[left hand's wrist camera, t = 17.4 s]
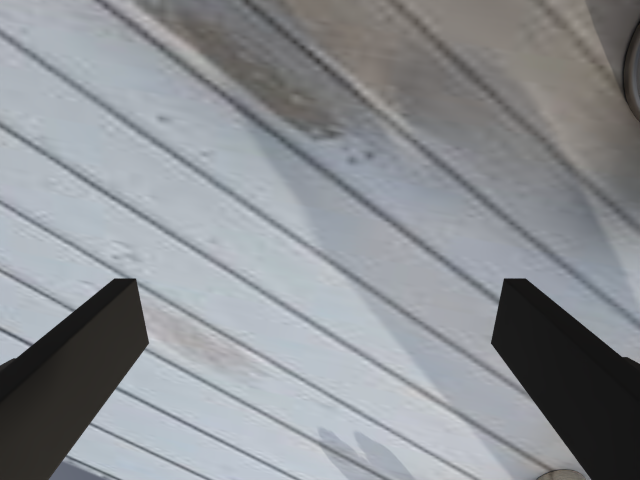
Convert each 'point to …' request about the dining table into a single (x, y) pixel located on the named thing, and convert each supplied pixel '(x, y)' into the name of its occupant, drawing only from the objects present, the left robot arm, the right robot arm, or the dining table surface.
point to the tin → (562, 475)
